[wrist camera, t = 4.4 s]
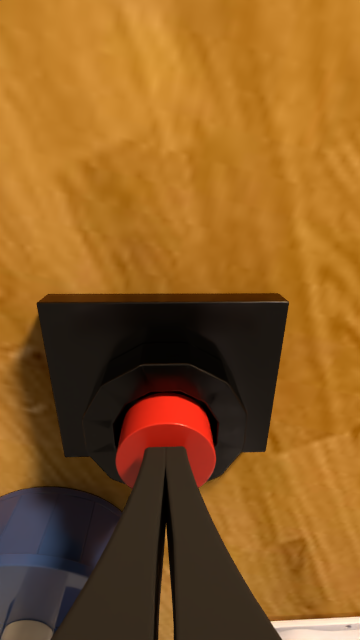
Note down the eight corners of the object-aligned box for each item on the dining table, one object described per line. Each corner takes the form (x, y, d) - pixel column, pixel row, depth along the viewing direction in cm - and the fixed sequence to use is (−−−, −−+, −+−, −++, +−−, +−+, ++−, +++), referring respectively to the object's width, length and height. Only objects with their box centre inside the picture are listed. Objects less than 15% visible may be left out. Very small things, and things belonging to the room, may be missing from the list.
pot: (134, 483, 17) (125, 553, 13) (141, 586, 21) (136, 661, 17) (-49, 489, 16) (-105, 563, 13) (-7, 593, 20) (-42, 671, 17)
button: (211, 390, 11) (219, 422, 10) (207, 459, 13) (213, 496, 11) (119, 392, 11) (111, 424, 10) (124, 461, 13) (118, 499, 11)
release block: (279, 292, 13) (310, 318, 10) (258, 438, 16) (277, 488, 13) (47, 293, 12) (12, 320, 10) (72, 443, 15) (51, 495, 13)
